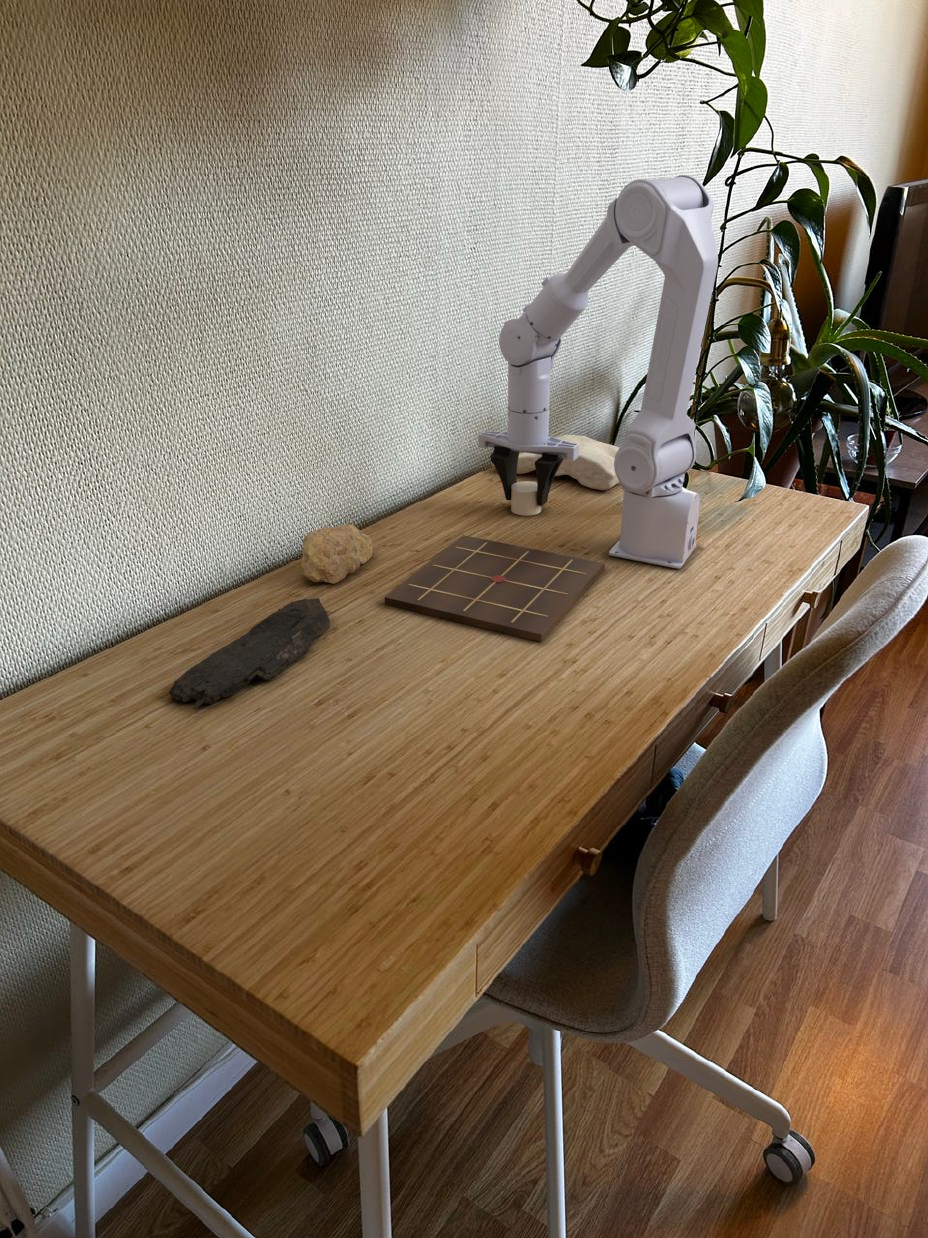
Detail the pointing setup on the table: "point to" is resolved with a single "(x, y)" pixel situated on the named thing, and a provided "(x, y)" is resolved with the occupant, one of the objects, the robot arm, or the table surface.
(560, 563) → the board
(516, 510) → the cream short cylinder
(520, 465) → the decorative stone
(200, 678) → the wood
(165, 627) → the table surface
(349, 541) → the stone tool
